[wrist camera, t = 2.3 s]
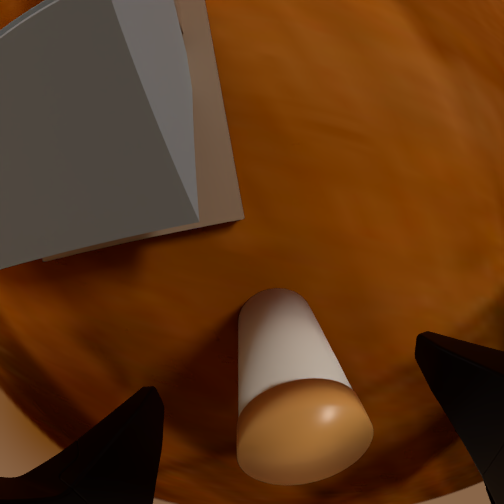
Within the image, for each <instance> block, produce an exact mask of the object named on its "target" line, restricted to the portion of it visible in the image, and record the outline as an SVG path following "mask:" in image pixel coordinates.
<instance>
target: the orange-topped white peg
mask: <svg viewBox="0 0 504 504" xmlns="http://www.w3.org/2000/svg"><path fill="white" fill-rule="evenodd" d="M238 412H239V418H238V421H237V461H238V464H239V466H240V468H241V469H242V470H243V471H244V472H245V473H246V474H247V475H249V476H251V477H252V478H254V479H257V480H259V481H262V482H265V483H270V484H276V485H299V484H306V483H311V482H315V481H319V480H322V479H325V478H328V477H330V476H333V475H335V474H337V473H339V472H341V471H343V470H344V469H346V468H348V467H349V466H351V465H352V464H353V463H354V462H356V461H357V460H358V459H359V458H360V457H361V456H362V455H363V454H364V453H365V451H366V450H367V449H368V447H369V445H370V443H371V441H372V438H373V426H372V424H371V421H370V419H369V417H368V415H367V413H366V411H365V409H364V407H363V405H362V403H361V401H360V400H359V398H358V396H357V394H356V393H355V392H354V391H353V390H352V388H351V386H350V384H349V382H348V380H347V378H346V376H345V374H344V372H343V370H342V368H341V366H340V364H339V362H338V360H337V358H336V357H335V355H334V353H333V351H332V349H331V347H330V345H329V343H328V341H327V339H326V337H325V335H324V333H323V331H322V329H321V328H320V326H319V324H318V322H317V320H316V318H315V316H314V314H313V312H312V310H311V309H310V307H309V305H308V303H307V302H306V300H305V299H304V298H303V297H302V296H300V295H299V294H297V293H296V292H294V291H291V290H288V289H282V288H273V289H267V290H264V291H261V292H259V293H257V294H255V295H254V296H252V297H251V298H250V299H249V300H248V301H247V302H246V303H245V304H244V306H243V307H242V309H241V311H240V314H239V319H238Z"/></svg>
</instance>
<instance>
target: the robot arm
mask: <svg viewBox="0 0 504 504" xmlns="http://www.w3.org/2000/svg"><path fill="white" fill-rule="evenodd" d="M415 359H416V361H417V363H418V365H419V367H420V369H421V371H422V373H423V375H424V377H425V379H426V381H427V383H428V385H429V387H430V389H431V391H432V392H433V394H434V396H435V397H436V399H437V400H438V402H439V404H440V405H441V407H442V408H443V410H444V411H445V413H446V415H447V416H448V418H449V420H450V421H451V423H452V425H453V426H454V428H455V431H456V432H457V434H458V435H459V436H460V438H461V440H462V441H463V443H464V445H465V447H466V448H467V450H468V452H469V454H470V455H471V457H472V459H473V461H474V463H475V464H476V466H477V468H478V470H479V472H480V474H481V475H483V476H482V478H483V480H484V483H485V486H486V491H487V493H488V496H489V499H490V501H491V504H504V351H500V350H496V349H492V348H488V347H484V346H481V345H477V344H473V343H469V342H466V341H462V340H458V339H455V338H451V337H447V336H444V335H440V334H436V333H433V332H429V331H426V332H423V333H420V334H419V335H418V336H417V339H416V347H415ZM163 422H164V405H163V402H162V400H161V398H160V396H159V393H158V391H157V389H156V388H155V387H153V386H148V387H142V388H141V389H140V390H139V391H137V392H136V393H135V394H134V395H133V396H131V397H130V398H129V399H128V400H126V401H125V402H124V403H123V404H121V405H120V406H119V407H118V408H117V409H115V410H114V411H113V412H112V413H110V414H109V415H108V416H107V417H105V418H104V419H103V420H102V421H100V422H99V423H98V424H97V425H95V426H94V427H93V428H91V429H90V430H89V431H88V432H86V433H85V434H84V435H83V436H81V437H80V438H79V439H78V441H77V440H76V441H75V442H73V443H72V444H71V445H70V446H68V447H67V448H66V449H64V450H63V451H61V452H60V453H59V454H57V455H56V456H54V457H52V458H51V459H49V460H48V461H46V462H45V463H43V464H41V465H40V466H38V467H36V468H34V469H33V470H31V471H29V472H28V473H26V474H24V475H22V476H19V477H13V478H5V477H0V504H153V498H154V492H155V486H156V479H157V473H158V467H159V461H160V456H161V450H162V440H163Z"/></svg>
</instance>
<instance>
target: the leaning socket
mask: <svg viewBox="0 0 504 504" xmlns="http://www.w3.org/2000/svg"><path fill="white" fill-rule="evenodd" d="M241 219H244V213H243V208H242V202H241V197H240V191H239V186H238V180H237V175H236V169H235V164H234V159H233V153H232V148H231V142H230V137H229V131H228V126H227V120H226V115H225V109H224V104H223V98H222V93H221V87H220V82H219V76H218V71H217V65H216V60H215V54H214V49H213V43H212V38H211V32H210V27H209V21H208V16H207V10H206V4H205V0H45V1H43V2H41V3H40V4H38V5H36V6H35V7H33V8H32V9H30V10H28V11H27V12H25V13H24V14H22V15H21V16H19V17H18V18H17V19H15V20H14V21H12V22H11V23H10V24H8V25H7V26H5V27H4V28H3V29H1V30H0V269H3V268H7V267H11V266H14V265H18V264H21V263H25V262H29V261H32V260H36V259H40V258H42V260H43V262H46V261H50V260H54V259H58V258H62V257H66V256H70V255H74V254H79V253H83V252H87V251H91V250H96V249H100V248H104V247H109V246H113V245H118V244H122V243H127V242H131V241H136V240H141V239H145V238H150V237H155V236H159V235H164V234H169V233H174V232H179V231H184V230H189V229H194V228H199V227H204V226H209V225H214V224H220V223H225V222H230V221H236V220H241Z"/></svg>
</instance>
